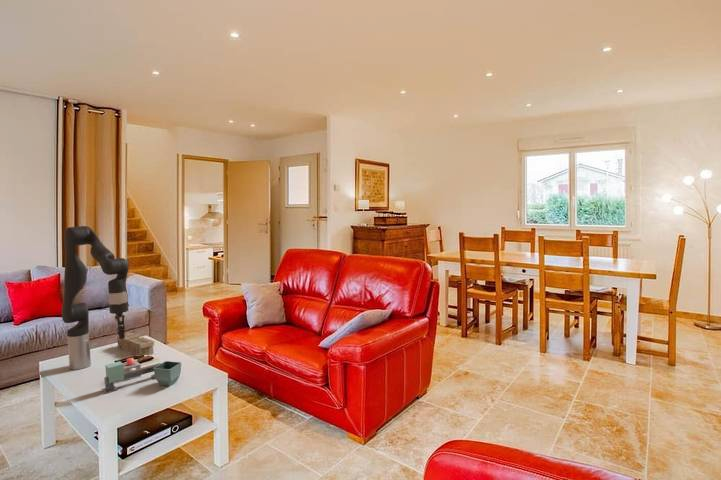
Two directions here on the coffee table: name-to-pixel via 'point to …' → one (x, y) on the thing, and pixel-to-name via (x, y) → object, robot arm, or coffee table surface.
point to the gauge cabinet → (131, 368)
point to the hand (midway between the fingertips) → (121, 336)
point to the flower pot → (167, 372)
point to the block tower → (135, 344)
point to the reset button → (130, 361)
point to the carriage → (115, 371)
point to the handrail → (110, 386)
